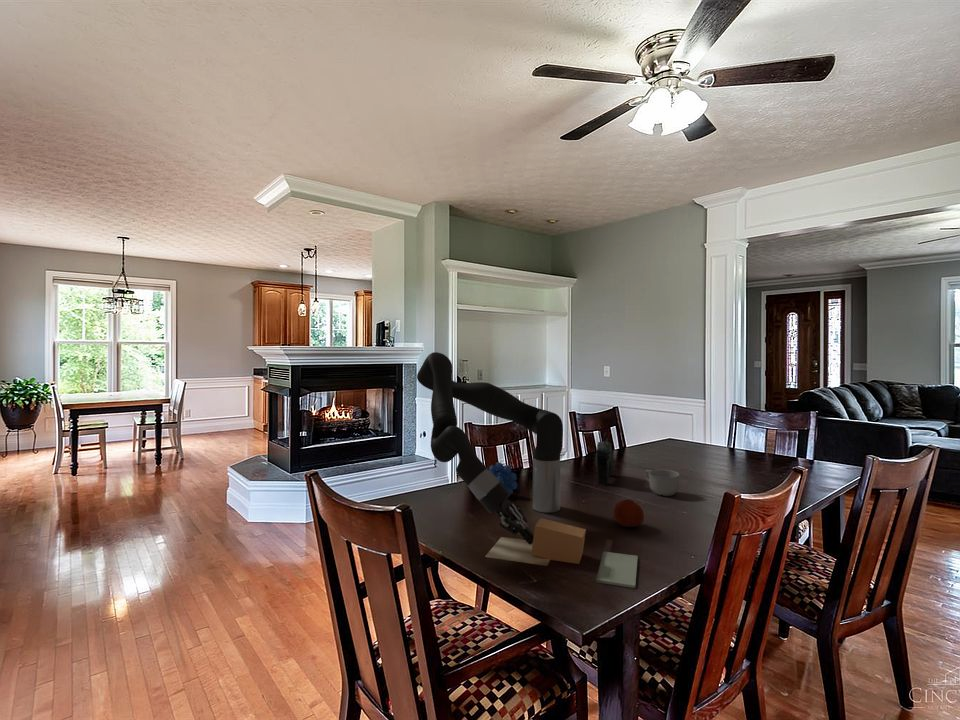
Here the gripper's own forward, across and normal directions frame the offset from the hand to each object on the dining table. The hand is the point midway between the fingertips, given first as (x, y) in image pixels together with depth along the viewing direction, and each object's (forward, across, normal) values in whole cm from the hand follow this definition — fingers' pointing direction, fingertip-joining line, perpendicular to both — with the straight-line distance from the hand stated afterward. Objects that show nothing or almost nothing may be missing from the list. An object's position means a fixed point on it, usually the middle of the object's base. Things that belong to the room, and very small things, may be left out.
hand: (533, 541), depth 128 cm
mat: (+14, 0, +8) cm, 16 cm away
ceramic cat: (+10, -85, +4) cm, 86 cm away
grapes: (-14, -50, -20) cm, 56 cm away
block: (+6, 0, +2) cm, 7 cm away
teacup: (+26, -73, +19) cm, 80 cm away
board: (+1, 0, -5) cm, 5 cm away
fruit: (+19, -32, +12) cm, 39 cm away
